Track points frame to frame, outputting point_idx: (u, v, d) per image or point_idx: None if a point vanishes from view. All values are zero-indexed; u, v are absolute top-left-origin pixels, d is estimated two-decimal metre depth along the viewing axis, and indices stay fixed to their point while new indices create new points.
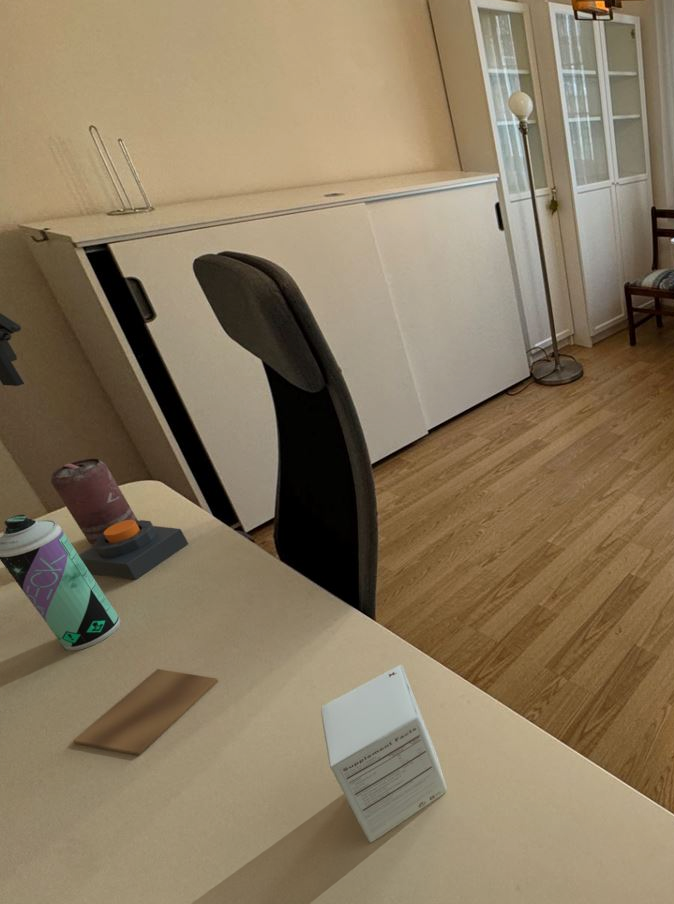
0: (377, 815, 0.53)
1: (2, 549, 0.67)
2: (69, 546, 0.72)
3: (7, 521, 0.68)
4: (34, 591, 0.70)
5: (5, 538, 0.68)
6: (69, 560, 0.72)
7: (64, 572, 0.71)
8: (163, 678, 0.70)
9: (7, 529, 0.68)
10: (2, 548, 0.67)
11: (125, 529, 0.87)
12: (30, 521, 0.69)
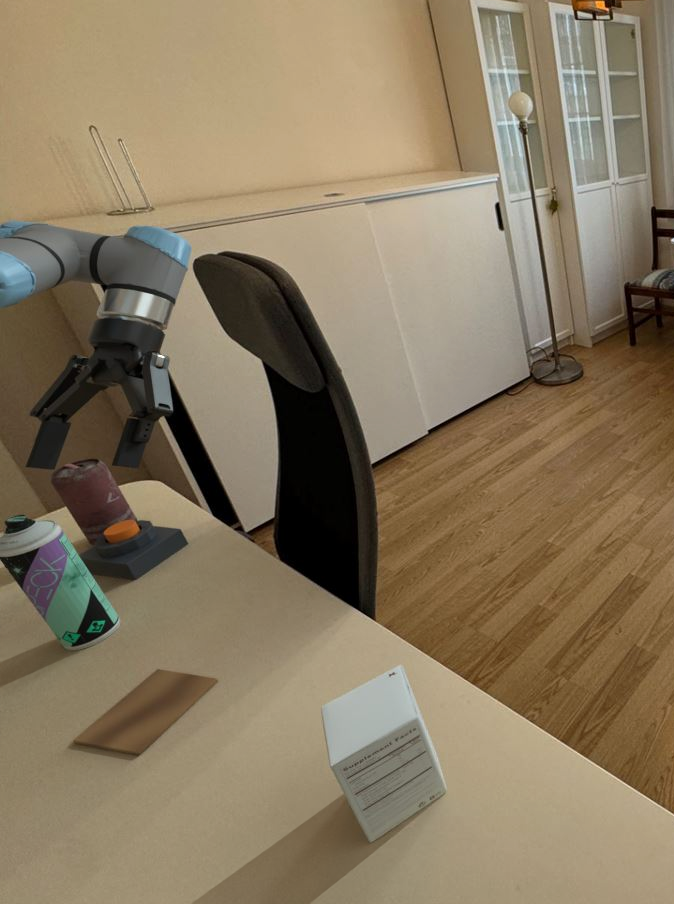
0: (377, 815, 0.53)
1: (2, 549, 0.67)
2: (69, 546, 0.72)
3: (7, 521, 0.68)
4: (34, 591, 0.70)
5: (5, 538, 0.68)
6: (69, 560, 0.72)
7: (64, 572, 0.71)
8: (163, 678, 0.70)
9: (7, 529, 0.68)
10: (2, 548, 0.67)
11: (125, 529, 0.87)
12: (30, 521, 0.69)
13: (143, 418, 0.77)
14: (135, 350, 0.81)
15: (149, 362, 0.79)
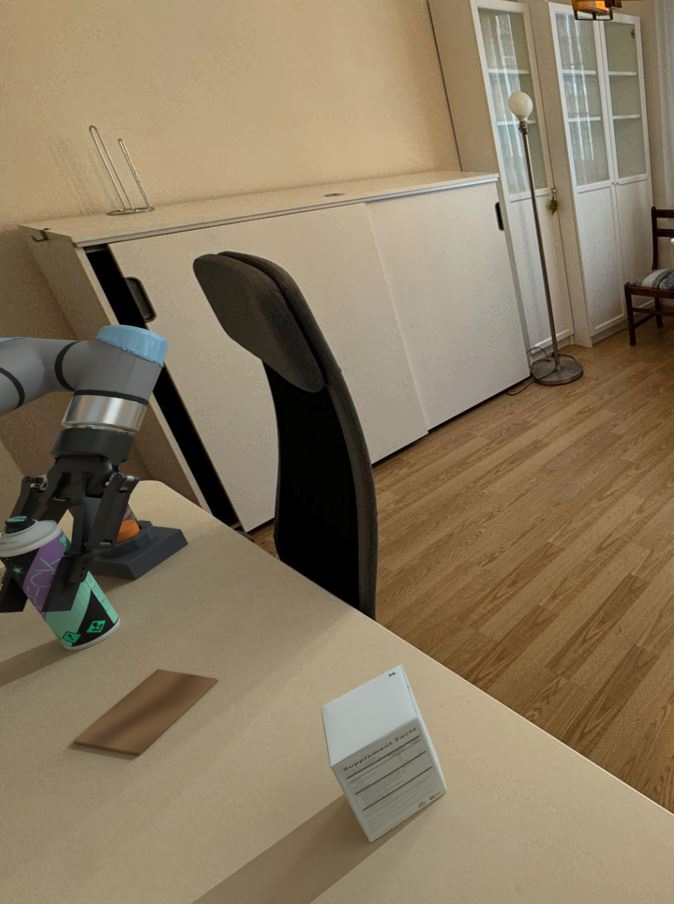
0: (377, 815, 0.53)
1: (2, 549, 0.67)
2: (70, 546, 0.72)
3: (7, 521, 0.68)
4: (34, 591, 0.70)
5: (5, 538, 0.68)
6: None
7: None
8: (163, 678, 0.70)
9: (7, 529, 0.68)
10: (2, 548, 0.67)
11: (125, 529, 0.87)
12: (30, 521, 0.69)
13: (78, 556, 0.72)
14: (105, 461, 0.75)
15: (114, 487, 0.74)
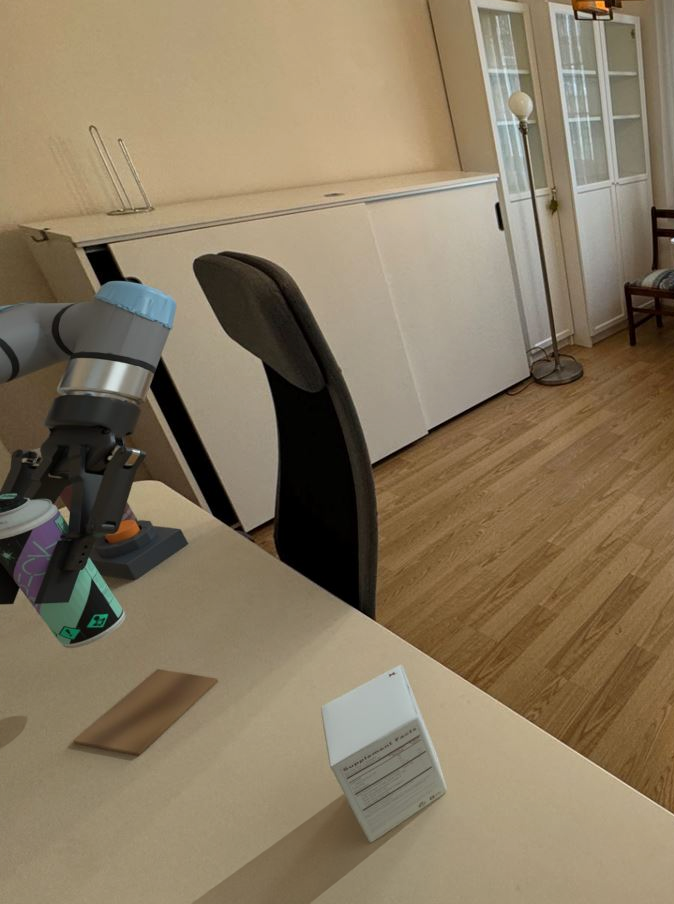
0: (377, 815, 0.53)
1: None
2: (67, 529, 0.63)
3: None
4: (26, 580, 0.61)
5: None
6: None
7: None
8: (163, 678, 0.70)
9: None
10: None
11: (125, 529, 0.87)
12: (21, 499, 0.60)
13: (77, 539, 0.62)
14: (107, 433, 0.66)
15: (117, 462, 0.65)
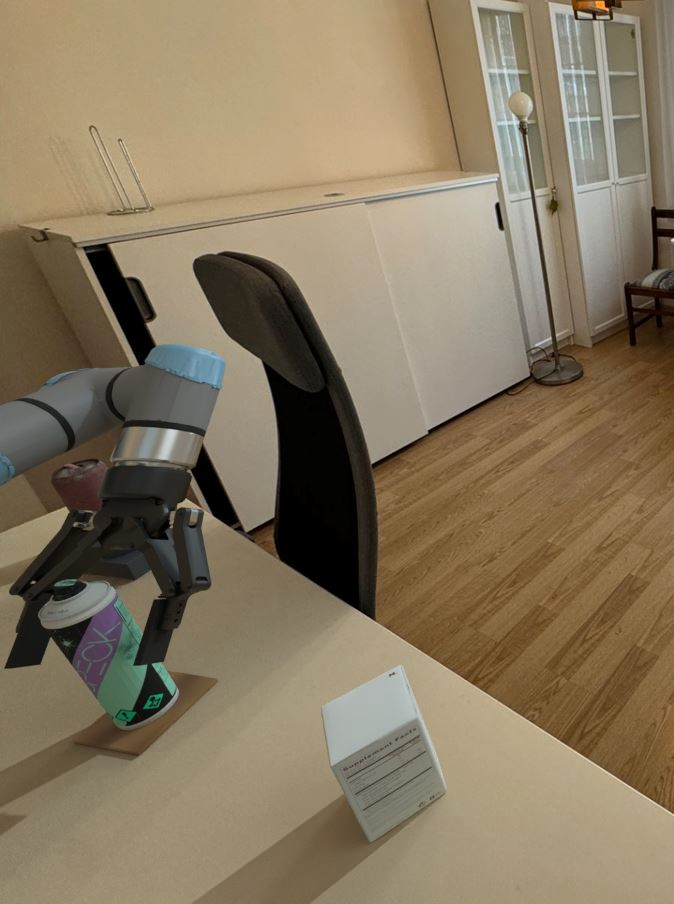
0: (377, 815, 0.53)
1: (50, 620, 0.57)
2: (125, 611, 0.62)
3: (55, 586, 0.57)
4: (85, 666, 0.59)
5: (53, 607, 0.57)
6: (124, 628, 0.61)
7: (119, 643, 0.61)
8: None
9: (55, 595, 0.57)
10: (50, 619, 0.57)
11: None
12: (81, 584, 0.59)
13: (174, 597, 0.62)
14: (160, 504, 0.65)
15: (182, 522, 0.64)
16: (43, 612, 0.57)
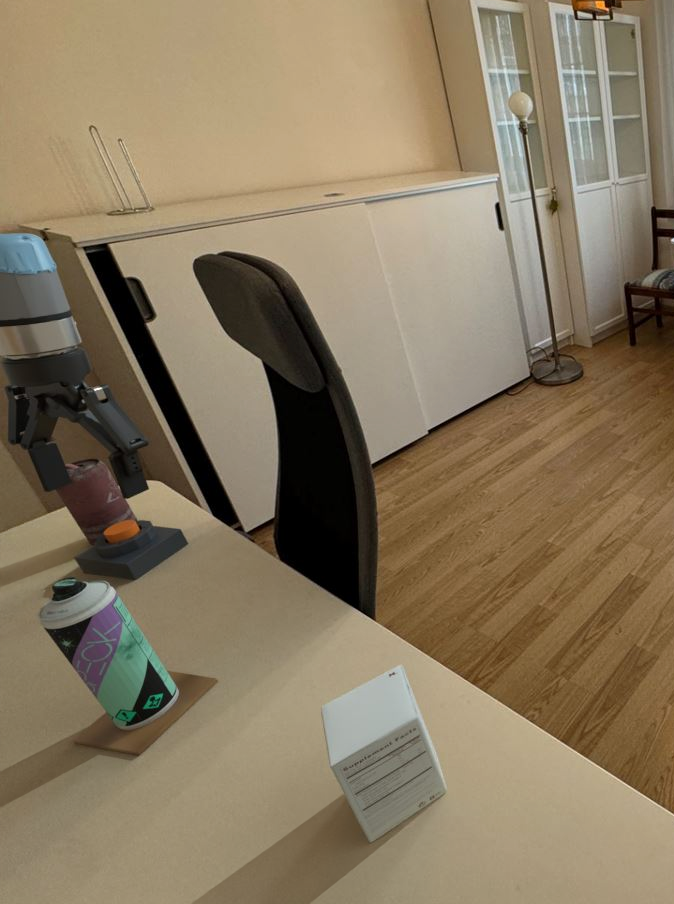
0: (377, 815, 0.53)
1: (50, 620, 0.57)
2: (124, 611, 0.62)
3: (55, 586, 0.57)
4: (85, 666, 0.59)
5: (53, 607, 0.57)
6: (124, 628, 0.61)
7: (119, 642, 0.61)
8: None
9: (55, 595, 0.57)
10: (49, 619, 0.57)
11: (125, 529, 0.87)
12: (81, 584, 0.59)
13: (123, 454, 0.77)
14: (66, 385, 0.74)
15: (91, 402, 0.74)
16: (43, 612, 0.57)
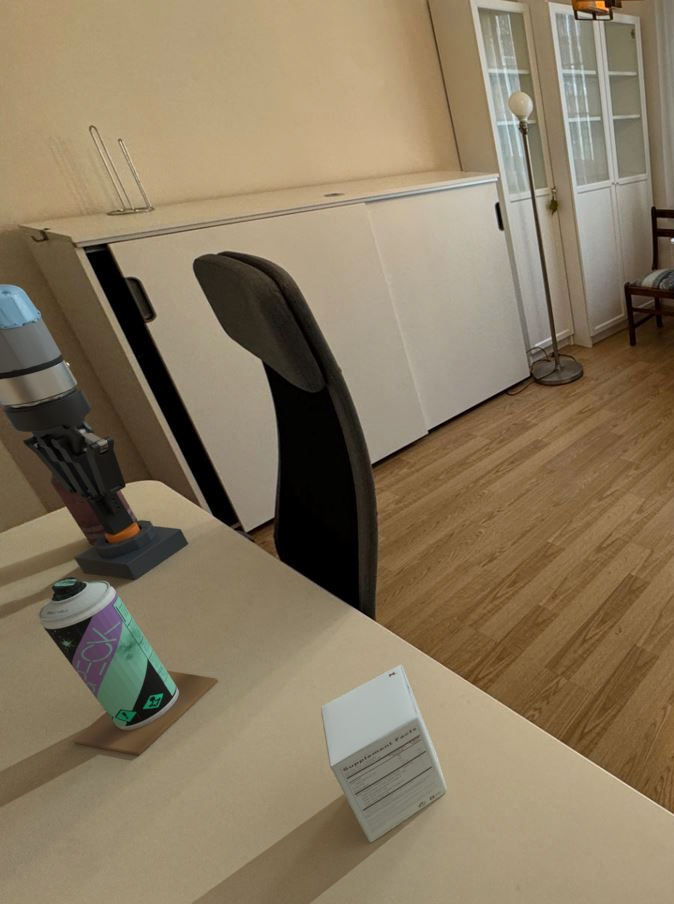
0: (377, 815, 0.53)
1: (50, 620, 0.57)
2: (124, 611, 0.62)
3: (55, 586, 0.57)
4: (85, 666, 0.59)
5: (53, 607, 0.57)
6: (124, 628, 0.61)
7: (119, 642, 0.61)
8: None
9: (55, 595, 0.57)
10: (49, 619, 0.57)
11: (126, 531, 0.87)
12: (81, 584, 0.59)
13: None
14: (68, 427, 0.78)
15: (93, 455, 0.79)
16: (43, 612, 0.57)
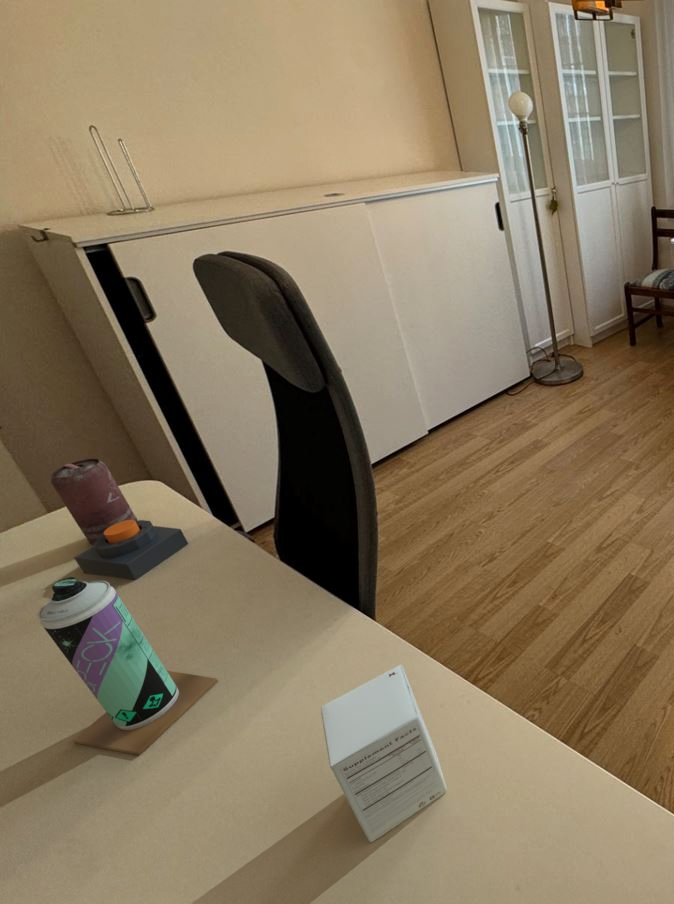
0: (377, 815, 0.53)
1: (50, 620, 0.57)
2: (124, 611, 0.62)
3: (55, 586, 0.57)
4: (85, 666, 0.59)
5: (53, 607, 0.57)
6: (124, 628, 0.61)
7: (119, 642, 0.61)
8: None
9: (55, 595, 0.57)
10: (49, 619, 0.57)
11: (125, 529, 0.87)
12: (81, 584, 0.59)
13: None
14: None
15: None
16: (43, 612, 0.57)
